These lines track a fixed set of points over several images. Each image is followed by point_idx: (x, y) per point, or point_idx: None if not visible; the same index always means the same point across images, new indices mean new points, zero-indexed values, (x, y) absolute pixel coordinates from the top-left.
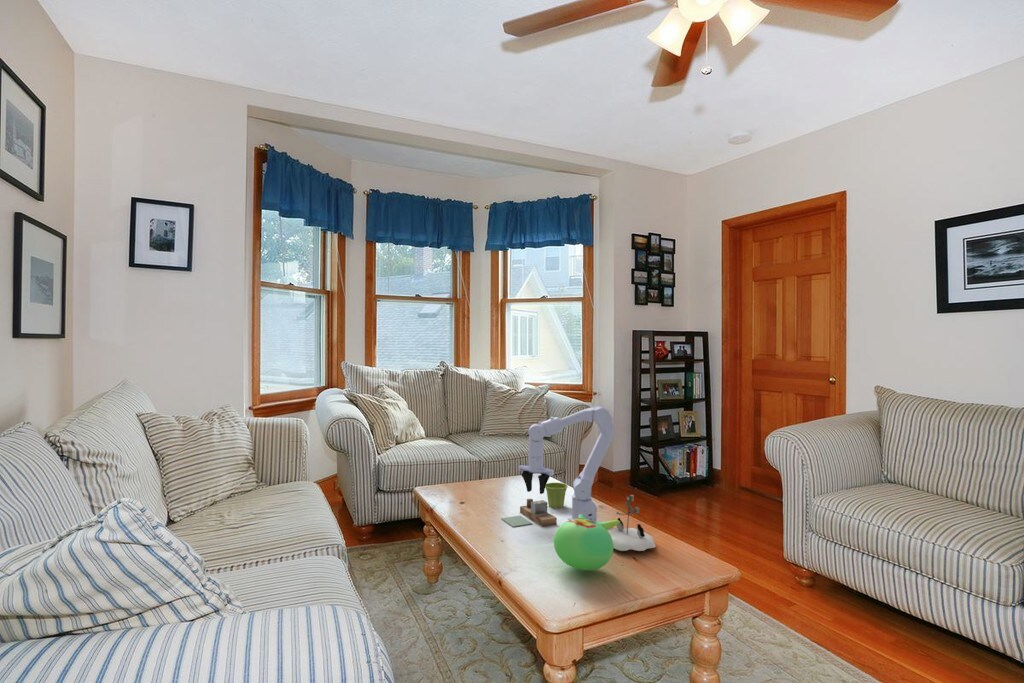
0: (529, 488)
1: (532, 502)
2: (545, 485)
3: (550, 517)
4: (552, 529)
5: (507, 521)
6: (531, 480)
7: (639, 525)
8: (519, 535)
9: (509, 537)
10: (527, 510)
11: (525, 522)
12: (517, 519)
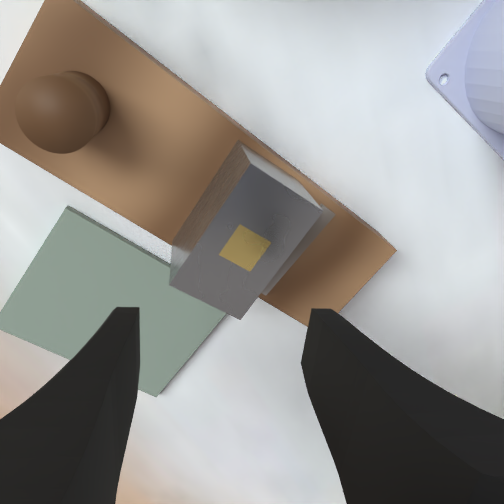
0: (135, 379)
1: (193, 292)
2: (392, 366)
3: (354, 268)
4: (374, 313)
5: (74, 354)
6: (106, 402)
7: None
8: (246, 449)
9: (216, 484)
10: (117, 207)
11: (187, 314)
12: (106, 292)
